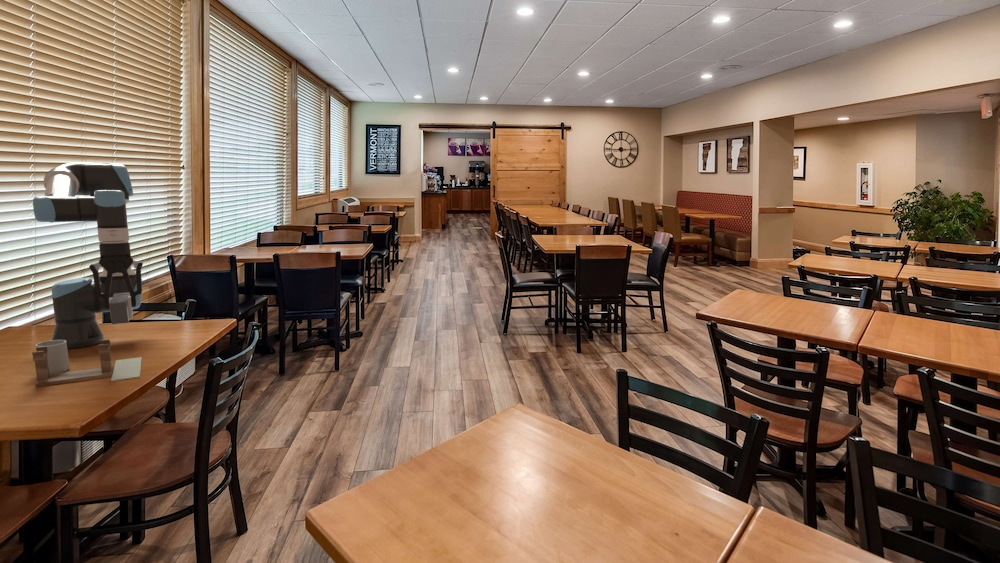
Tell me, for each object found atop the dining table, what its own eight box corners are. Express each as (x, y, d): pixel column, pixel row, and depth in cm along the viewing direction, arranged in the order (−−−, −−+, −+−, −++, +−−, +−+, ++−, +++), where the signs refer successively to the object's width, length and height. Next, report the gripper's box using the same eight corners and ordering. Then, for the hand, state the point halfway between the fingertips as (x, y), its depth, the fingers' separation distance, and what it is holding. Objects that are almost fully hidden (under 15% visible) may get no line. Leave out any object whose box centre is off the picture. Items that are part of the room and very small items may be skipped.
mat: (116, 361, 178) (116, 360, 178) (141, 358, 182) (141, 357, 182) (111, 381, 160) (110, 380, 160) (139, 377, 163) (139, 376, 163)
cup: (44, 376, 163) (40, 347, 162) (32, 370, 169) (28, 342, 167) (73, 370, 169) (70, 342, 168) (61, 364, 175) (57, 337, 173)
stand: (40, 378, 161) (36, 346, 160) (113, 369, 170) (110, 338, 169) (35, 386, 155) (31, 353, 153) (111, 376, 164) (108, 344, 162)
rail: (111, 324, 158) (109, 303, 157) (116, 311, 175) (114, 293, 174) (128, 322, 160) (126, 302, 159) (131, 310, 177) (129, 292, 176)
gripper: (77, 244, 157) (86, 323, 160) (147, 241, 165) (154, 317, 169) (80, 242, 163) (89, 319, 167) (148, 240, 172) (155, 313, 175)
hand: (122, 318), depth 168 cm, fingers closed on rail, 4 cm apart
